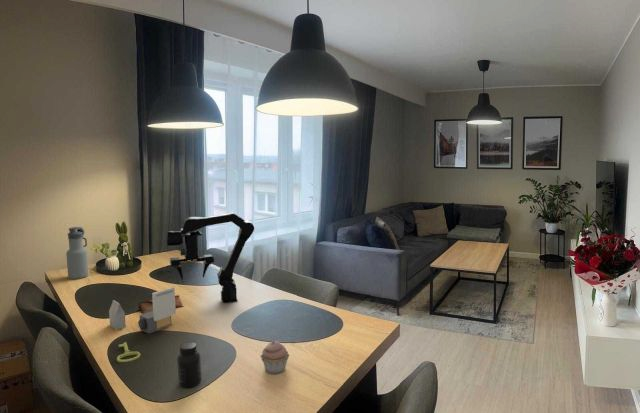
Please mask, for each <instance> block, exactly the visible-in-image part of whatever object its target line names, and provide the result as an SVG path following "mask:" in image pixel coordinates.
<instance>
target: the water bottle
mask: <svg viewBox="0 0 640 413" xmlns="http://www.w3.org/2000/svg"><path fill="white" fill-rule="evenodd" d="M68 231H69V232H68V233H67V240H68V248H69V249H68V250H67V251H66V264H67V265H66V267H67V276H68V279H69V280H80V279H85V278H86V277H88V276H89V264H88V252H87V249H86V248H85V247H88V240H87V238H86V237H84V235H85V234H86V233H85V229H84V228H83V227H81V226H73V227H69V228H68ZM83 240H84V241H85V242H84V243H85V244H84V243H83Z"/></svg>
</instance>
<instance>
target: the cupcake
mask: <svg viewBox="0 0 640 413" xmlns="http://www.w3.org/2000/svg"><path fill="white" fill-rule="evenodd" d="M259 357H260V358H261V361H262V363H263V366H264V367H263V368H264V370H265V372H266V373H268V374H270V375H278V374H282V373H283V372H284V371H285V370H286V366H287V362H288V359H289V357H290V354H289V352H288V350H287V348H286V347H285V345H283V344H282V343H281V342H279V341H277V340H276V339H275V340H273V341H272V342H269V343H268V344H267V345H266V346H265V347H264V348H263V350H262V354H261V355H259Z"/></svg>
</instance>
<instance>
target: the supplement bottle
mask: <svg viewBox="0 0 640 413" xmlns="http://www.w3.org/2000/svg"><path fill="white" fill-rule="evenodd" d="M201 362H202V360H201V354H200V352H199V351H198V348H197V343H196V342H193V341H188V342H184V343H182V344H180V346H179V354H178V355H177V356H176V366H177V368H176V369H177V379H178V380H177V381H178V386H179V387H181V388H182V389H191V388H195V387H197V386H198V385H200V384H201V382H202V377H203V376H202V363H201Z"/></svg>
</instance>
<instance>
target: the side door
mask: <svg viewBox="0 0 640 413" xmlns="http://www.w3.org/2000/svg"><path fill="white" fill-rule="evenodd" d="M175 291H176V290H175V287H174V286H172V287H168V288H165V289H162V290H159V291H154V292H152V293H151V296H152V300H153V319H154V321H158V320H160V319H163V318H166V317H169V316H171V317H172V316H174V315H176V309H177V308H175V296H176V292H175ZM152 300H151V301H152Z"/></svg>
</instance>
